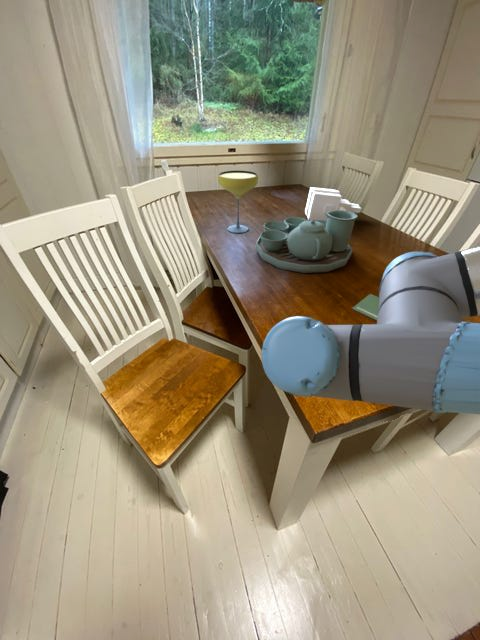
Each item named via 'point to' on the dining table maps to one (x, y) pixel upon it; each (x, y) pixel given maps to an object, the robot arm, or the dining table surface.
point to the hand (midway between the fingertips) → (356, 379)
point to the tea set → (308, 242)
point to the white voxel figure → (326, 203)
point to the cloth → (368, 306)
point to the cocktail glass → (238, 190)
